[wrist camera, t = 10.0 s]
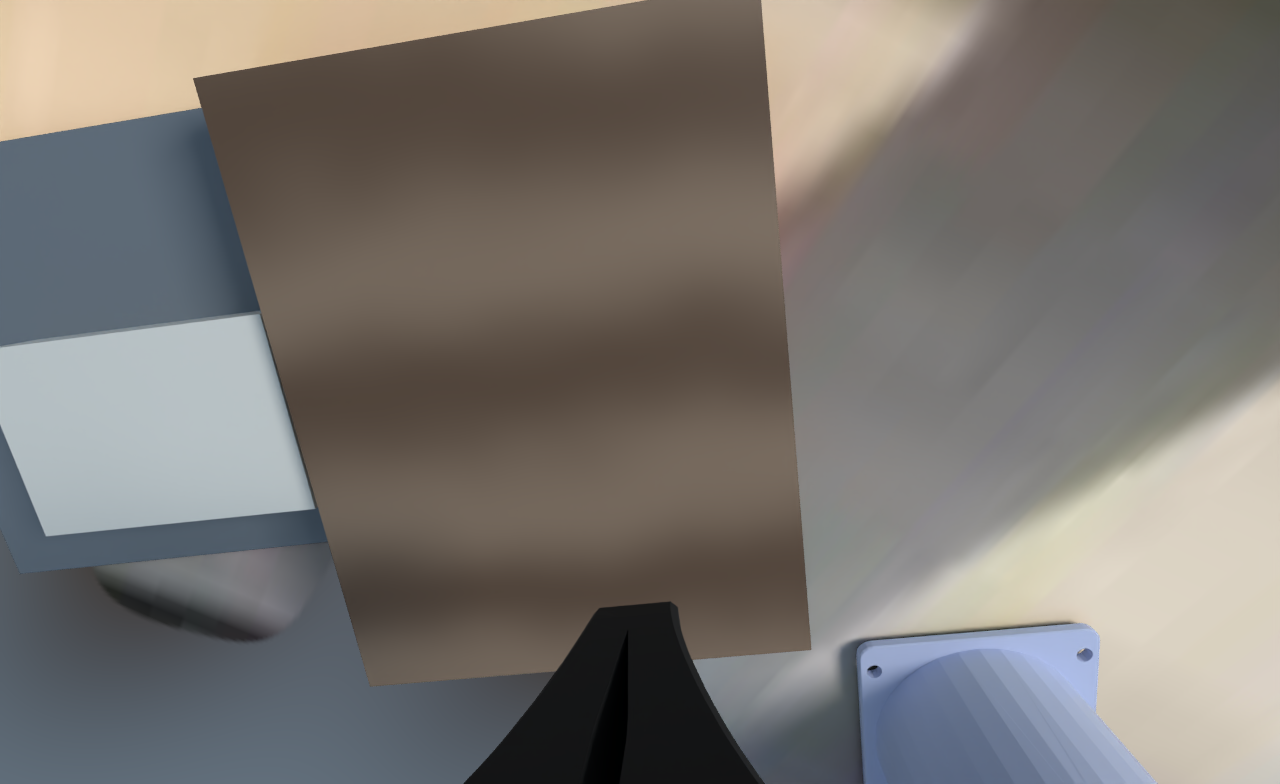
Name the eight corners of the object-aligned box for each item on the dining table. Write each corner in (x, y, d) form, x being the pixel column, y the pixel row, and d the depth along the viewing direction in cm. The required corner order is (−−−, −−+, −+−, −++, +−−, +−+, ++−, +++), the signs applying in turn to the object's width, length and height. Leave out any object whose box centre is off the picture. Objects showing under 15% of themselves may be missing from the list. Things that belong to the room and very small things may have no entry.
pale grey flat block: (301, 305, 19) (259, 313, 17) (348, 482, 21) (315, 508, 19) (37, 339, 20) (-30, 351, 18) (102, 508, 22) (45, 536, 20)
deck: (792, 593, 22) (811, 649, 19) (408, 628, 23) (370, 686, 20) (744, 22, 17) (759, -20, 14) (268, 101, 18) (192, 78, 15)
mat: (368, 531, 22) (361, 538, 21) (33, 566, 23) (20, 574, 22) (252, 104, 18) (241, 101, 18) (-137, 169, 19) (-158, 167, 19)
